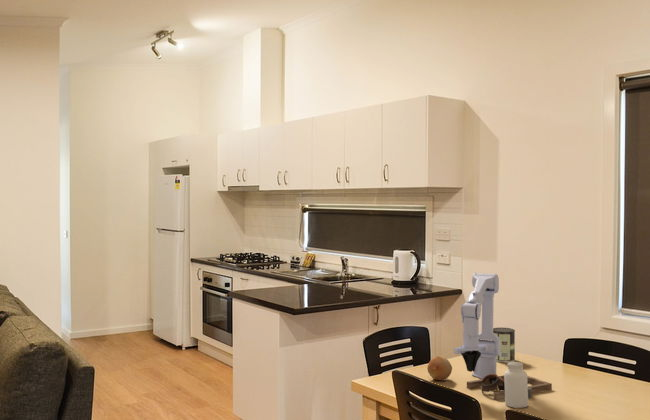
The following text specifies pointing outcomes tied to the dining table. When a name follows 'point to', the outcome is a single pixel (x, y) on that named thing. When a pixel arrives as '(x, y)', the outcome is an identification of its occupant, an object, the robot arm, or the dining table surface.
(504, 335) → the coffee can
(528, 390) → the block
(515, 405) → the pill bottle
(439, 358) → the onion
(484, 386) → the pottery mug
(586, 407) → the dining table surface
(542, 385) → the walnut slot beam
